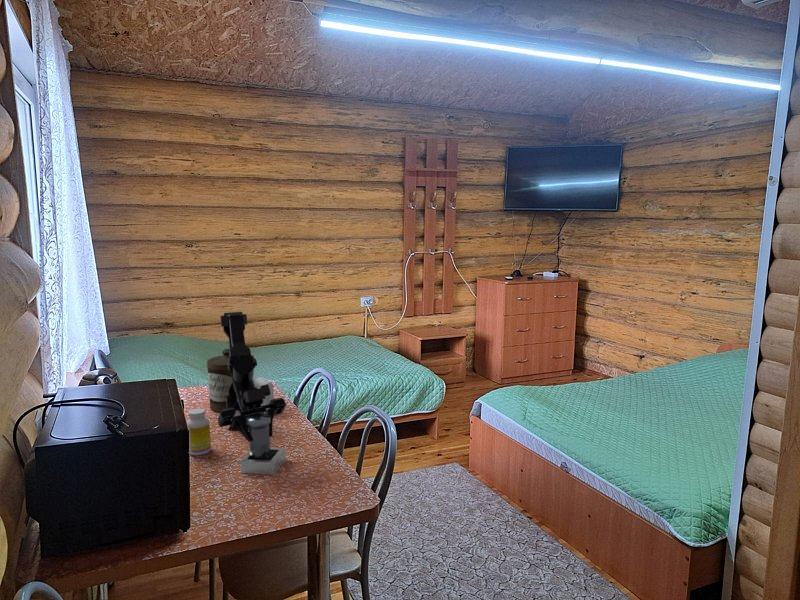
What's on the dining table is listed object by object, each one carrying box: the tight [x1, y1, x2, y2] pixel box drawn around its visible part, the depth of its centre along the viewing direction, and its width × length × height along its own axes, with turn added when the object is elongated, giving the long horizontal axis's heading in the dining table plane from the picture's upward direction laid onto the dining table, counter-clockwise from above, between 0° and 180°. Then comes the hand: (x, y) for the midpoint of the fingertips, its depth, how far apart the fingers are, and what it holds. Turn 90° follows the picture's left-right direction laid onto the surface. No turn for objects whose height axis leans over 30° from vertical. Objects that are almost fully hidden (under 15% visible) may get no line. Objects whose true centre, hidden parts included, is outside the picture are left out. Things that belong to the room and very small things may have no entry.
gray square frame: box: [240, 447, 286, 475], centre depth 161 cm, size 10×10×4 cm
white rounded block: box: [253, 376, 275, 406], centre depth 205 cm, size 10×4×12 cm, turn 48°
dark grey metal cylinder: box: [246, 413, 271, 460], centre depth 160 cm, size 7×7×14 cm
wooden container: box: [206, 348, 232, 413], centre depth 210 cm, size 15×15×22 cm
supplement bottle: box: [186, 408, 212, 456], centre depth 171 cm, size 7×7×13 cm
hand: (260, 438), depth 158 cm, fingers closed on dark grey metal cylinder, 6 cm apart
